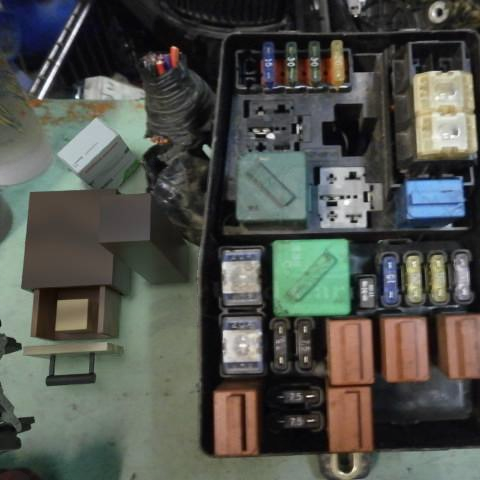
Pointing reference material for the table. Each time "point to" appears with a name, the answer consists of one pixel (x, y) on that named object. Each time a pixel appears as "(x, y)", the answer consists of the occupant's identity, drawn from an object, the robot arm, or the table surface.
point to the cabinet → (69, 243)
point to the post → (143, 238)
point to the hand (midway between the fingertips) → (20, 385)
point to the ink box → (99, 156)
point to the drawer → (46, 326)
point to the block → (77, 316)
